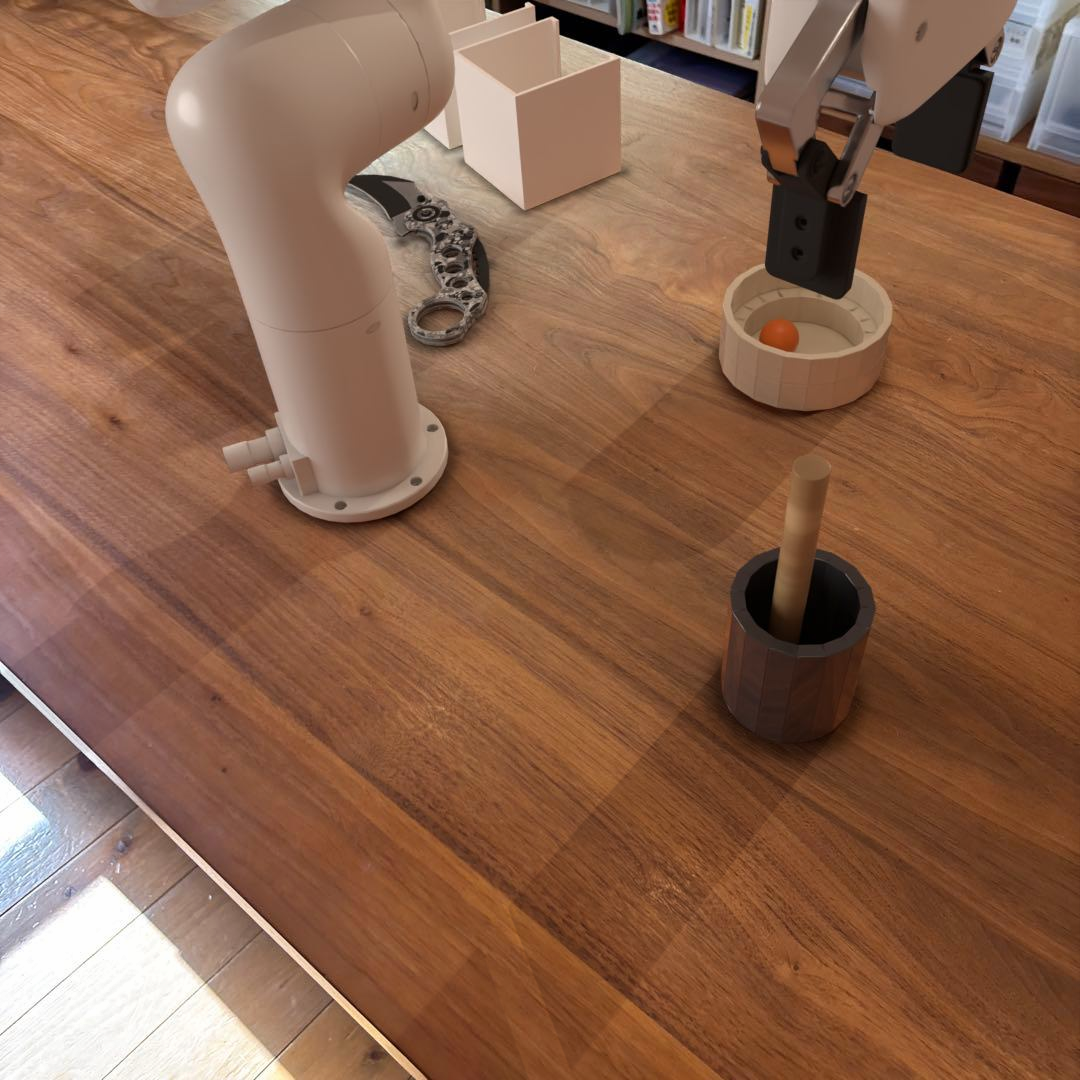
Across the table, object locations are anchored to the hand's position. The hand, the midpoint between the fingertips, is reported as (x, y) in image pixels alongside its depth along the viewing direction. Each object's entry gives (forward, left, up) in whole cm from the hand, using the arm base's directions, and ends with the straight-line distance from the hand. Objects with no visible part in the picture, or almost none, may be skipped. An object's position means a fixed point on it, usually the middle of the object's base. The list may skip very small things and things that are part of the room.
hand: (871, 219), depth 42 cm
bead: (+15, +27, -30) cm, 43 cm away
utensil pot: (0, 0, -32) cm, 32 cm away
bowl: (+16, +26, -32) cm, 44 cm away
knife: (-6, +54, -32) cm, 63 cm away
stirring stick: (0, +1, -32) cm, 32 cm away
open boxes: (+8, +69, -32) cm, 77 cm away
